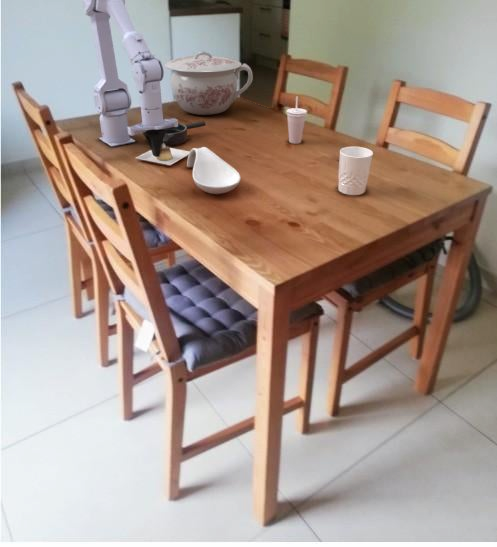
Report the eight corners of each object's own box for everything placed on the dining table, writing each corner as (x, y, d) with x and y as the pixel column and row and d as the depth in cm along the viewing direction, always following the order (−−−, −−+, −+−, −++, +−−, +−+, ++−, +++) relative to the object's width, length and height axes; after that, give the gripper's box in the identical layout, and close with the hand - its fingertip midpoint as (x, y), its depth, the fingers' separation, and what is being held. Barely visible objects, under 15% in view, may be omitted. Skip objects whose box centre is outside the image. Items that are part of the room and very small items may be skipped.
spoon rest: (248, 195, 122) (248, 167, 118) (203, 203, 118) (201, 174, 114) (213, 163, 140) (212, 138, 136) (173, 169, 136) (171, 144, 132)
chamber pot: (153, 112, 184) (147, 52, 172) (200, 98, 203) (197, 43, 191) (212, 125, 170) (210, 61, 159) (256, 109, 189) (257, 50, 178)
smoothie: (282, 143, 155) (284, 97, 148) (288, 137, 160) (290, 92, 153) (301, 146, 153) (304, 99, 146) (307, 140, 158) (310, 94, 151)
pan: (141, 139, 158) (140, 127, 155) (175, 132, 164) (174, 120, 162) (160, 149, 149) (159, 136, 147) (194, 142, 156) (194, 129, 154)
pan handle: (182, 129, 159) (181, 124, 158) (202, 125, 163) (202, 120, 162) (184, 130, 158) (184, 125, 157) (205, 126, 162) (205, 121, 161)
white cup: (360, 199, 120) (366, 159, 115) (330, 192, 124) (334, 153, 118) (371, 188, 126) (377, 150, 121) (343, 181, 129) (347, 144, 124)
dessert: (159, 149, 150) (158, 133, 147) (193, 155, 145) (192, 139, 143) (135, 161, 141) (133, 145, 138) (170, 168, 136) (169, 151, 134)
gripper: (133, 114, 127) (139, 165, 135) (182, 106, 135) (185, 154, 142) (121, 108, 132) (128, 157, 139) (169, 100, 139) (173, 147, 147)
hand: (156, 155), depth 141 cm, fingers closed
